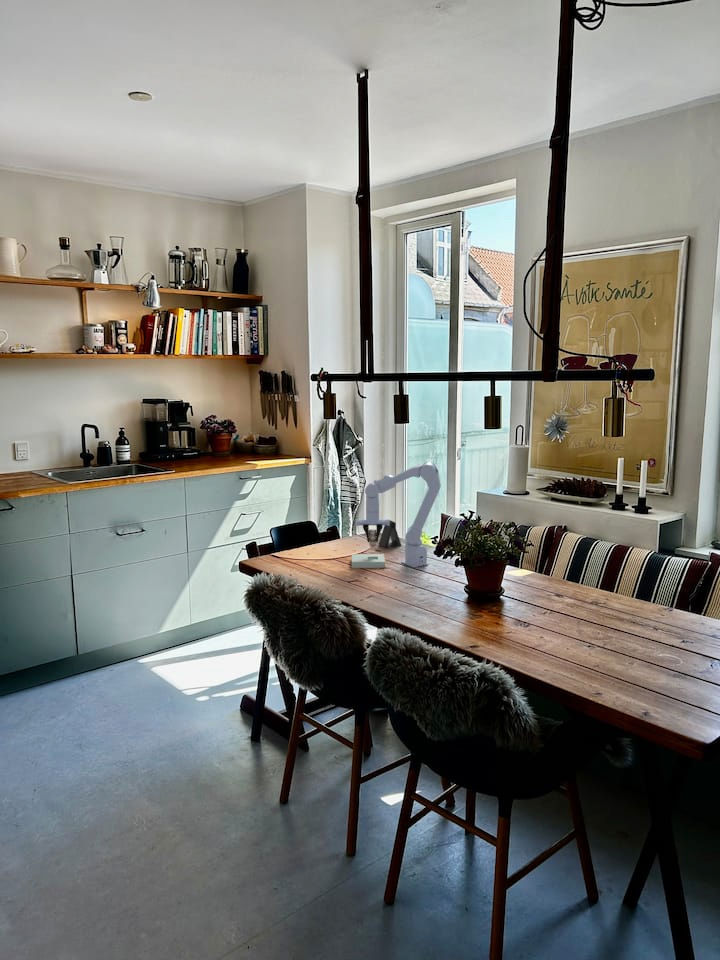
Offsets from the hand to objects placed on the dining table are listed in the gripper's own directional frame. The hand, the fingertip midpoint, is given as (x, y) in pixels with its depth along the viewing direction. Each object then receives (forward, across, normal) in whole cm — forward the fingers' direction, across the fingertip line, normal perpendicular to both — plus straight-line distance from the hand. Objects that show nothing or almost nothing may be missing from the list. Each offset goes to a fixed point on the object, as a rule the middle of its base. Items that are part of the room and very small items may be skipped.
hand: (372, 541), depth 302 cm
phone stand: (+9, -8, -27) cm, 30 cm away
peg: (+2, 0, 0) cm, 2 cm away
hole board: (+9, +2, +3) cm, 10 cm away
